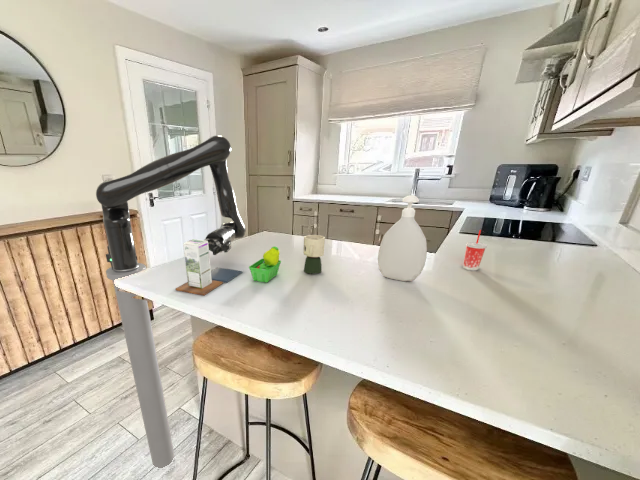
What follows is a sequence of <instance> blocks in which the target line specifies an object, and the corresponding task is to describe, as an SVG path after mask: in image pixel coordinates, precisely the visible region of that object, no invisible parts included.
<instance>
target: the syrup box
mask: <svg viewBox="0 0 640 480" xmlns="http://www.w3.org/2000/svg"><path fill="white" fill-rule="evenodd" d="M204 240H205V239H190V240H189V239H188V240H187V241H185V242H183V243H182V247H183V254H184V255H183V256H184V262H185V269H186V277H187V278H186V279H187V282H188V286H191V287H196V288H204V287H206V286H208V285H209V284H211V283H212V279H211V271H212V270H211V260H210V250H209V247H208V241H204Z"/></svg>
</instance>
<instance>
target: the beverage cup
mask: <svg viewBox="0 0 640 480" xmlns="http://www.w3.org/2000/svg"><path fill="white" fill-rule="evenodd" d="M481 233H482V229H479V231H478V235H477V238H476V241H468V242H465V246H466V247H465V252H464V259H463V263H462V268H463V269H464V270H467V271H479V268H480V266H481V262H482V260H483V256H484V254H485V251H486V249H487V247H488V244H487V243H483V242H479V241H480V240H479V239H480V236H481Z"/></svg>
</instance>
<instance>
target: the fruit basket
mask: <svg viewBox="0 0 640 480" xmlns="http://www.w3.org/2000/svg"><path fill="white" fill-rule="evenodd" d="M280 253H281V252H280V249H279V247H278V246H272V247H270V248H269V250H267V251H265V252H264V253H263V254H262V258H261V259H259V260H257V261H256V262H254V263H253V264H251V265H249V266H248V269H249V270H250V273H251V276H252V280H253V281H254V282H259V283H260V282H261V283H268V282H269V281H271V280H272V279H273V278H275V277H276V276H277V275H278V274H279V273H278V272H279V269H280V265H281V263H282V260H280Z"/></svg>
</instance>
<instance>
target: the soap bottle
mask: <svg viewBox="0 0 640 480" xmlns="http://www.w3.org/2000/svg"><path fill="white" fill-rule="evenodd" d="M401 202H402V203H407V206H406V207H404V208H403V209H402V211H401V217H400V219H399V220H397V221H396V222H395V223H394V224H393V225H392V226H391V227H390V228H389V229H388V230H387V231H386V232H385V233H384V235H383V237H382V239H381V242H380V244H379V248H378V252H377V253H378V254H377V264H378V269H379V271H380V273H381V275H382V276H383V277H384V278H386V279H391V280H395V281H401V282H412V281H415V280H416V279H417V278H418V277H419V276H420V275H421V274H422V272H423V270H424V268H425V266H426V261H427V257H428V256H427V255H428V254H427V253H428V246H427V238H426V235H425V234H424V232H423V230H422V227H421V226H420V224H419V223H418V222H417V221H416V218H415V215H416V209H415V207H413V203H420V199H419V198H418V197H417V195H415V194H414V195H413V194H409V195H406V196H404V197H403V198H402V199H401Z"/></svg>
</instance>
